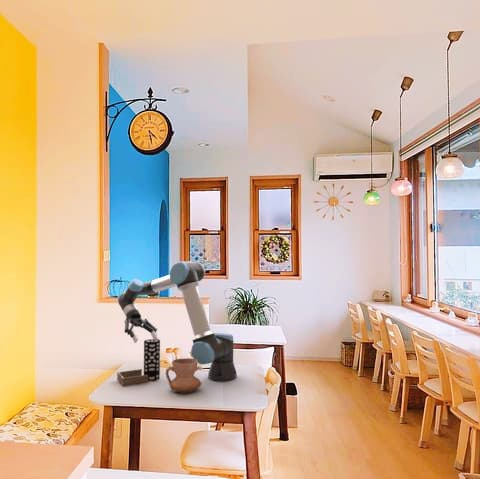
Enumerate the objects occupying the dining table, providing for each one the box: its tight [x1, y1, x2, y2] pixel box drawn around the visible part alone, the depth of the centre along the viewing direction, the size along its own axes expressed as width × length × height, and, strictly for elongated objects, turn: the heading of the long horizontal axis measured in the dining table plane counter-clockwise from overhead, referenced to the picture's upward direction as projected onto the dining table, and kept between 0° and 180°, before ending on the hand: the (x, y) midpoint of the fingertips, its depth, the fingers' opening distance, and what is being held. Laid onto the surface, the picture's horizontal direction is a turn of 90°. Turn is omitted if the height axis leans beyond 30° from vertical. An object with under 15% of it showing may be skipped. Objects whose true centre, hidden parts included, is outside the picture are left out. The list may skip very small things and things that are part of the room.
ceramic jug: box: [165, 357, 203, 394], centre depth 194 cm, size 18×14×14 cm
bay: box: [116, 368, 149, 388], centre depth 208 cm, size 13×13×4 cm
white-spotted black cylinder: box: [143, 338, 161, 382], centre depth 212 cm, size 8×8×20 cm
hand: (147, 341), depth 217 cm, fingers open, 13 cm apart
